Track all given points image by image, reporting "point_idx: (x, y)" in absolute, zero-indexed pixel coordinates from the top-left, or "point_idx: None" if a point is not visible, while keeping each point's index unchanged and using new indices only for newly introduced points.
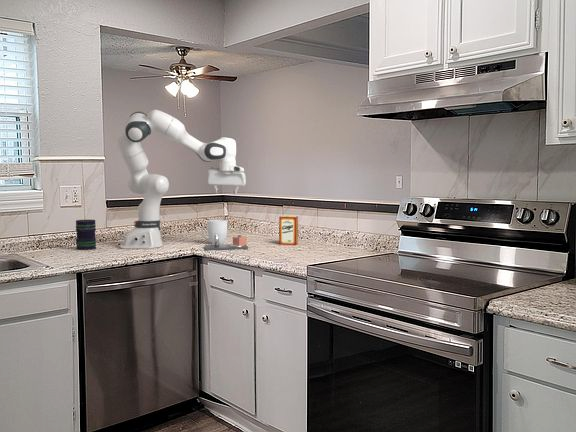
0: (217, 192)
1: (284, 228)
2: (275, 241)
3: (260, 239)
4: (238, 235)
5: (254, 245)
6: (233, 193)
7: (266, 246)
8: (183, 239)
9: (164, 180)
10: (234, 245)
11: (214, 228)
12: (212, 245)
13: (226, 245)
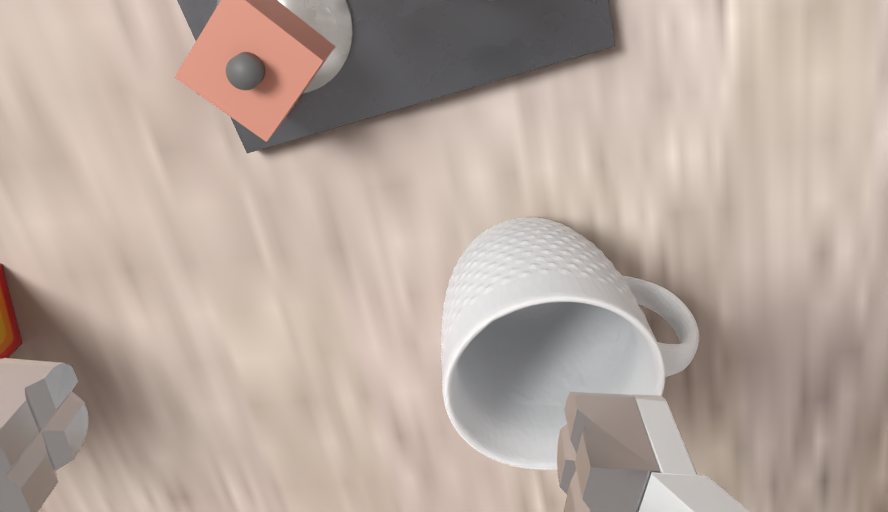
0: (620, 405)
1: None
2: (105, 417)
3: (247, 489)
4: (252, 59)
5: (189, 203)
6: (52, 366)
7: (64, 155)
8: (804, 440)
9: None
10: (307, 2)
11: (561, 256)
12: (532, 18)
13: (395, 33)
